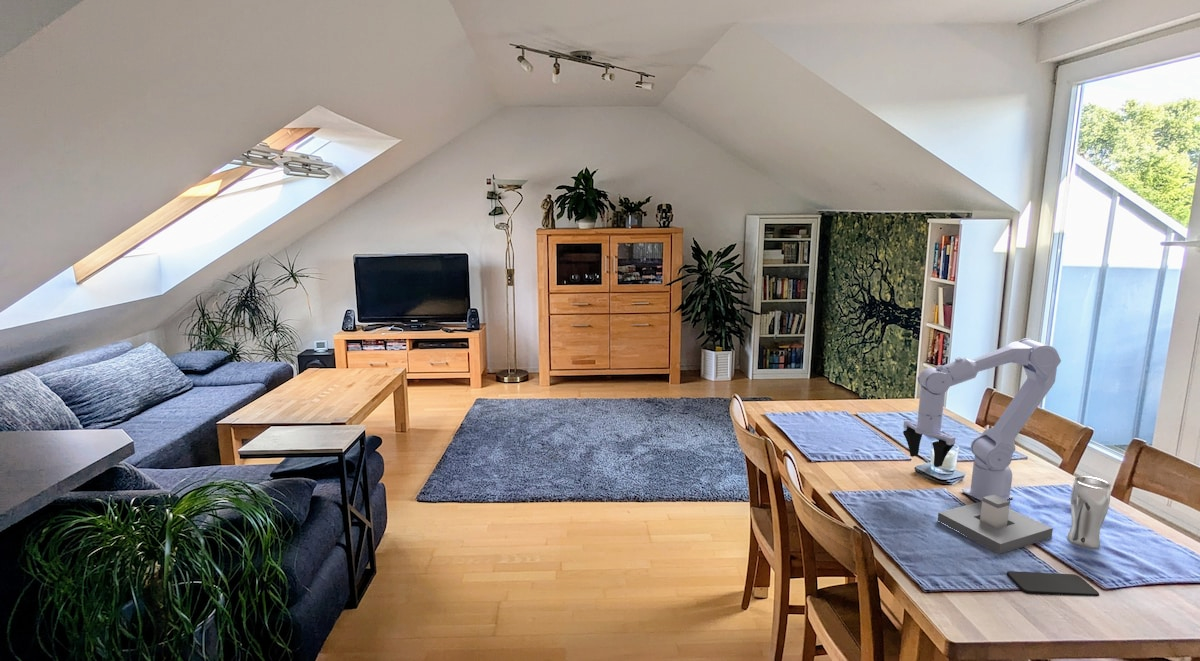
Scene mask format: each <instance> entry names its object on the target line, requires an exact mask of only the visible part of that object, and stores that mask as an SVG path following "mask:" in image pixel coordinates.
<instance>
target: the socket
mask: <svg viewBox="0 0 1200 661" xmlns="http://www.w3.org/2000/svg"><path fill="white" fill-rule="evenodd" d="M981 507H982V501H981V500H979V501H977V502H973V503H970V504H966V505H962V506H957V507H955V508H951V509H947V510H943V511H938V514H937V522H938V521H940V522H942V523H944V524H946V525H948V526H949V527H951V528H953V529H955V530H957V531H959V532H960V533H962V534H964V535H965V536H964V535H963V536H964V537H966V536H967V537H968V539H969V538H970V539H969V540H971V539H972V541H973V540H974V541H973V542H975V543H978V544H979V545H981V546H983V547H985V548H987V549H988V548H989V550H990V549H991V550H990V551H992V550H993V551H992V552H994V553H997V554H998V555H1000V554H1004V552H1005V553H1007V552H1011V551H1014V550H1017V549H1020V548H1023V547H1026V546H1029V545H1033V544H1036V543H1039V542H1040V543H1041V542H1042V541H1046V540H1049V539H1052V537H1053V536H1052V535H1053V529H1054V527H1052V526H1049V525H1047V524H1045V523H1042V522H1040V521H1038V520H1035V519H1033V518H1031V517H1029V516H1026V515H1024V514H1022V513H1020V512H1018V511H1015V510H1013V509H1011V508H1009V513H1008V521H1007V526H1005V527H1002V528H998V529H997V528H995V527H993V526H991V525H989V524H987V523H985V522H983V521H981V520H980V516H981ZM960 533H959V534H960ZM962 534H961V535H962ZM967 537H966V538H967Z"/></svg>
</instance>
